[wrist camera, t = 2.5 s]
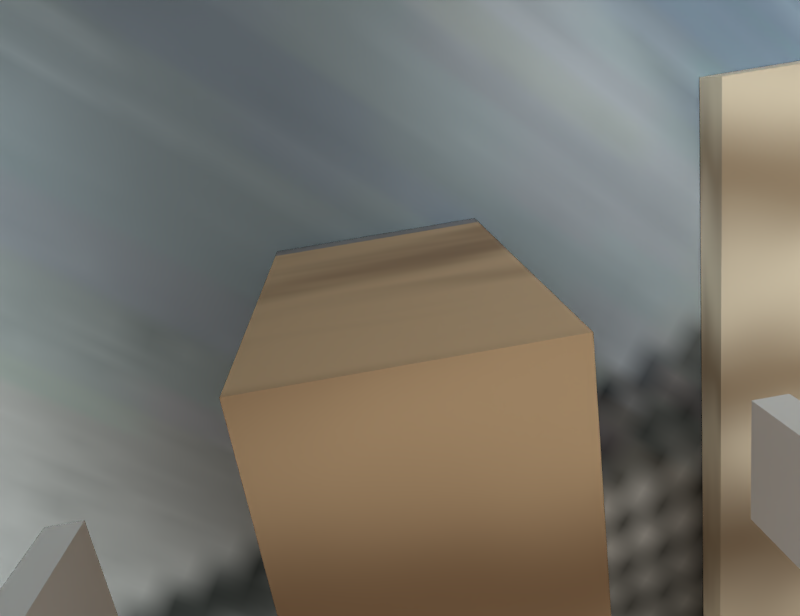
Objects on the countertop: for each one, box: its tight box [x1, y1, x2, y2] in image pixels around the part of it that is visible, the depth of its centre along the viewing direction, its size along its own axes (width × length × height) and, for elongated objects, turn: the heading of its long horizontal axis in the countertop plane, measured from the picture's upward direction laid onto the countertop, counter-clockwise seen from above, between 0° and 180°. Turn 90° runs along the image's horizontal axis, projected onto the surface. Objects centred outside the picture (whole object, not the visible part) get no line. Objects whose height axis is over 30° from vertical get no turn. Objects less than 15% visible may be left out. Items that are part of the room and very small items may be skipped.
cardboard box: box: [219, 218, 611, 616], centre depth 16 cm, size 7×6×10 cm
